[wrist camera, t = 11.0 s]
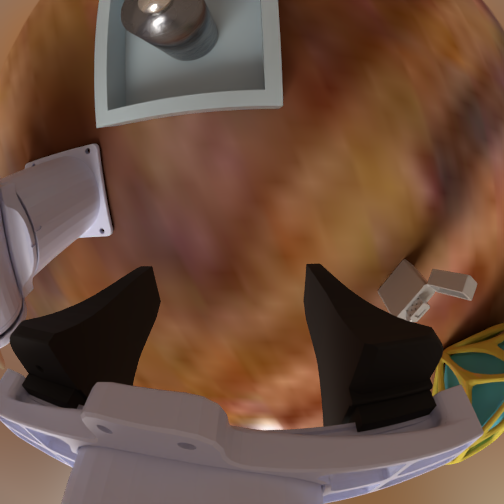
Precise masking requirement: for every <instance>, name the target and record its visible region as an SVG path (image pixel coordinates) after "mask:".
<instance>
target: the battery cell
mask: <svg viewBox="0 0 504 504" xmlns="http://www.w3.org/2000/svg"><path fill="white" fill-rule="evenodd" d="M121 22H122V24H123V26H124V27H125V29H126V30H127V31H129V32H130V33H132V34H134V35H136V36H137V37H139V38H141V39H143V40H144V41H146V42H148V43H149V44H151V45H153V46H155V47H156V48H158V49H159V50H161V51H163V52H164V53H166V54H168V55H169V56H171V57H172V58H174V59H176V60H180V61H192V60H196V59H199V58H201V57H203V56H205V55H206V54H208V53H209V52H210V51H211V50H212V49H213V48H214V46H215V45H216V43H217V40H218V35H219V33H218V28H217V25H216V23H215V21H214V19H213V17H212V15H211V13H210V11H209V9H208V7H207V4H206V2H205V0H125V1H124V3H123V5H122V8H121Z"/></svg>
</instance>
